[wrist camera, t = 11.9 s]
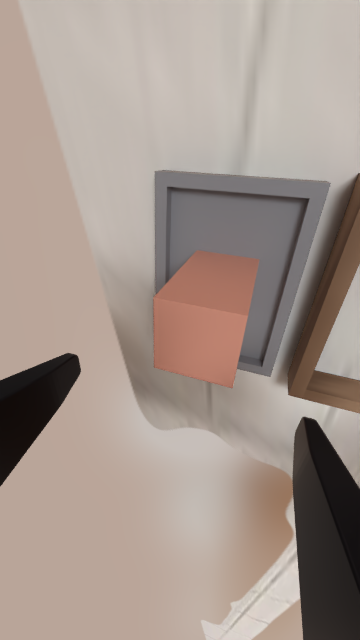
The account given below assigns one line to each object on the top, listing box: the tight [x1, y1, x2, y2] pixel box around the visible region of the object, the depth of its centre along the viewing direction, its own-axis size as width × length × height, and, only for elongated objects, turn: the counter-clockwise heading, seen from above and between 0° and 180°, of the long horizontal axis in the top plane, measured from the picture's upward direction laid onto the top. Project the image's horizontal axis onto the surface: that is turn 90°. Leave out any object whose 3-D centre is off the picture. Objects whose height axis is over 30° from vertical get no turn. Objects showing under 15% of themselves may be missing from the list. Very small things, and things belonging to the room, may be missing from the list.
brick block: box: [153, 250, 259, 388], centre depth 16 cm, size 4×4×8 cm
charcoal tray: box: [155, 170, 331, 377], centre depth 19 cm, size 10×14×2 cm
